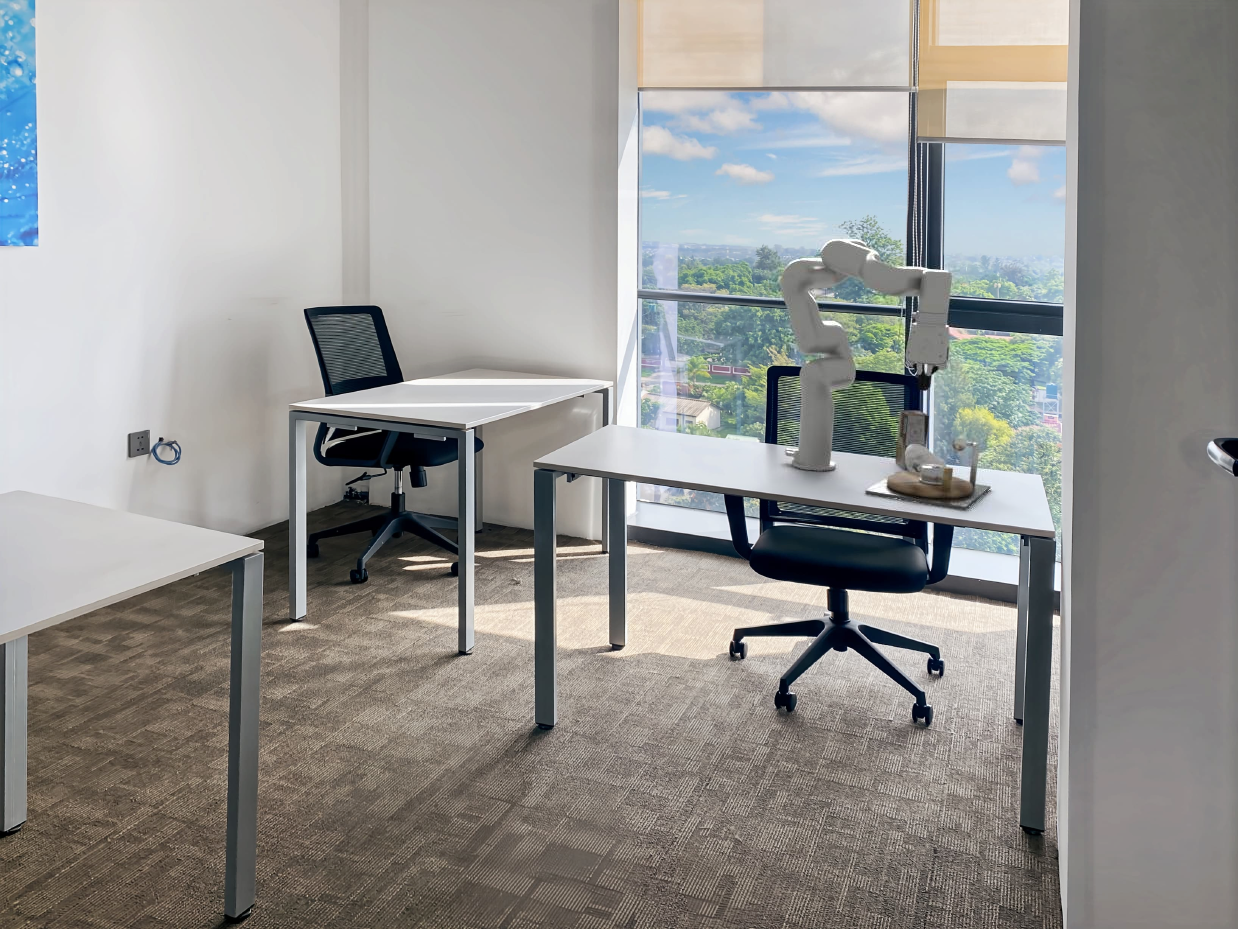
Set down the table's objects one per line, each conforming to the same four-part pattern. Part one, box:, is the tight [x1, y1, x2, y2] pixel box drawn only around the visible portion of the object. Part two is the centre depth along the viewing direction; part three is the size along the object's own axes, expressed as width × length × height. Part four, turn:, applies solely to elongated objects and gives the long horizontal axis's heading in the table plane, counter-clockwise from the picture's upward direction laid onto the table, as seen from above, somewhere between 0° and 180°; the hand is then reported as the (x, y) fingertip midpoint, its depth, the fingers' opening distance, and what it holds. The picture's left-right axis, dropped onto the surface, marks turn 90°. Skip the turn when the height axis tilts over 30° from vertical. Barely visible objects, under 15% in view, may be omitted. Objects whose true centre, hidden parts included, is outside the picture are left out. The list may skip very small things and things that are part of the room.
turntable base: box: [864, 437, 992, 511], centre depth 277 cm, size 26×26×14 cm
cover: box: [919, 464, 947, 485], centre depth 278 cm, size 8×8×4 cm
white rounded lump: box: [905, 444, 947, 472], centre depth 298 cm, size 6×8×12 cm
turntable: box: [886, 466, 973, 498], centre depth 278 cm, size 22×22×7 cm
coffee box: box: [894, 409, 930, 470], centre depth 306 cm, size 9×6×16 cm
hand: (923, 389), depth 271 cm, fingers closed
